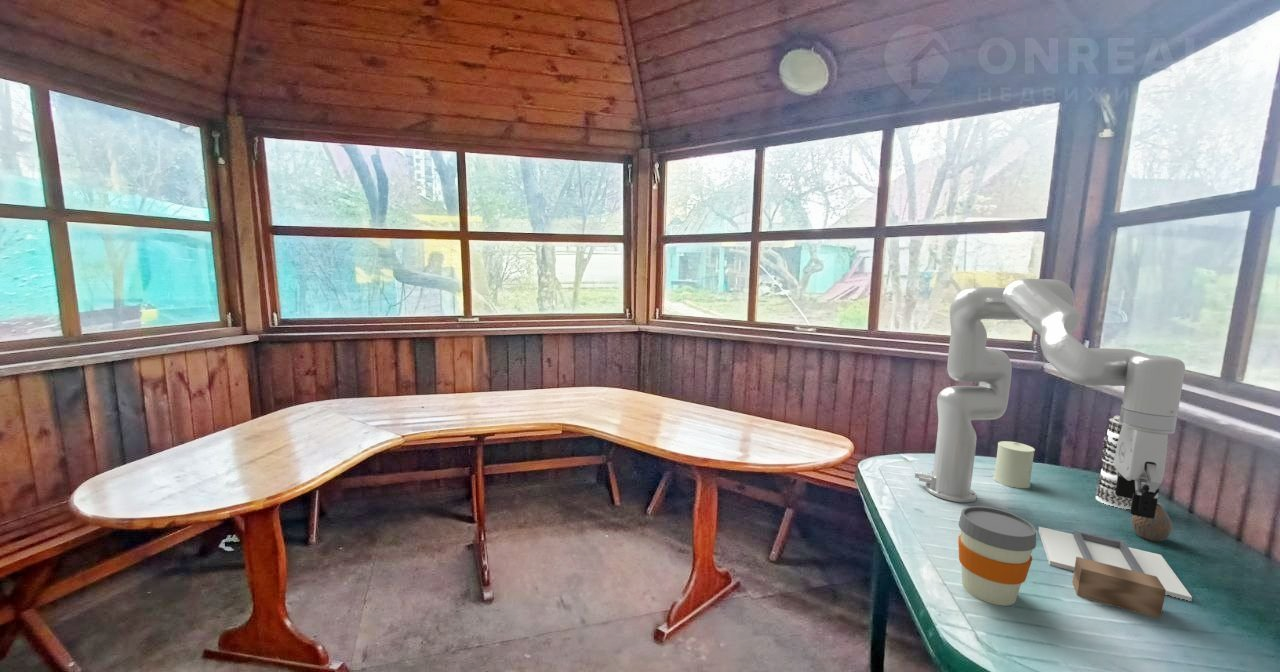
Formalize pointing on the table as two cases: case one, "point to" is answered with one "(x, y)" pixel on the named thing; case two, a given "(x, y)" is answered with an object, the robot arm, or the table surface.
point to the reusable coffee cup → (994, 553)
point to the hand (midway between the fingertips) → (1133, 506)
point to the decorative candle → (1111, 469)
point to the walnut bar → (1119, 587)
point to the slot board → (1108, 557)
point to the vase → (1153, 525)
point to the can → (1014, 464)
